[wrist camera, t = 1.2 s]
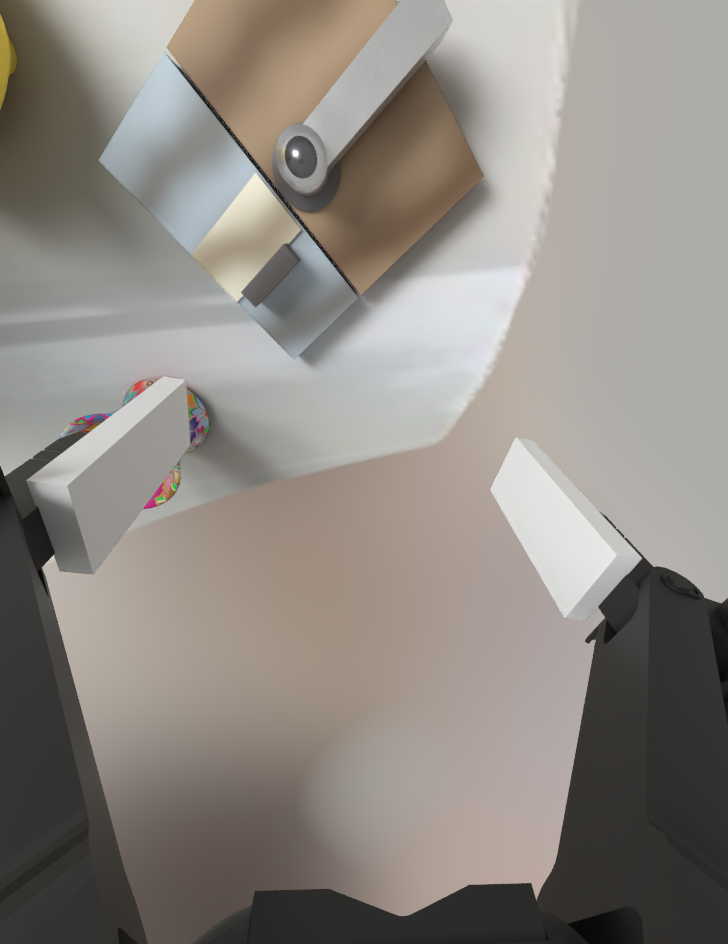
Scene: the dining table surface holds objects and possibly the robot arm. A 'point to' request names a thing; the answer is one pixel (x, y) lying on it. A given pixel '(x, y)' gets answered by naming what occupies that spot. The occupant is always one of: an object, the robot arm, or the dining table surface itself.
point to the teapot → (6, 60)
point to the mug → (172, 481)
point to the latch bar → (361, 93)
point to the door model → (258, 128)
